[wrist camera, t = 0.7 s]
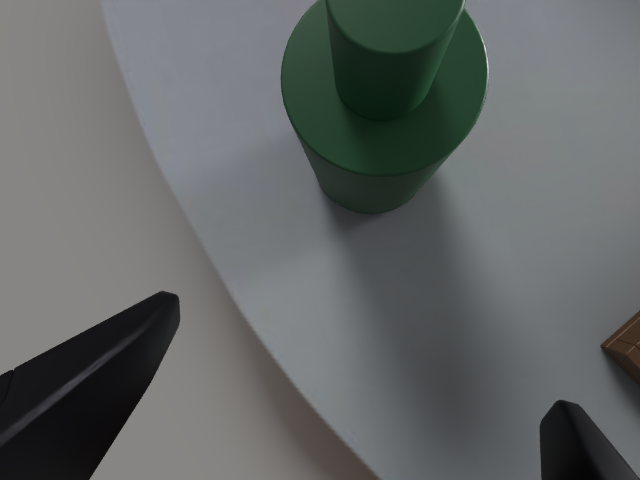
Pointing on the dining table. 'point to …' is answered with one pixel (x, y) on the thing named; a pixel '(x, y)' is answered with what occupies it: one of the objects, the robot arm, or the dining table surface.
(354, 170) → the green bottle
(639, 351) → the tray
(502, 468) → the dining table surface
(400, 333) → the dining table surface
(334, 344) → the dining table surface
